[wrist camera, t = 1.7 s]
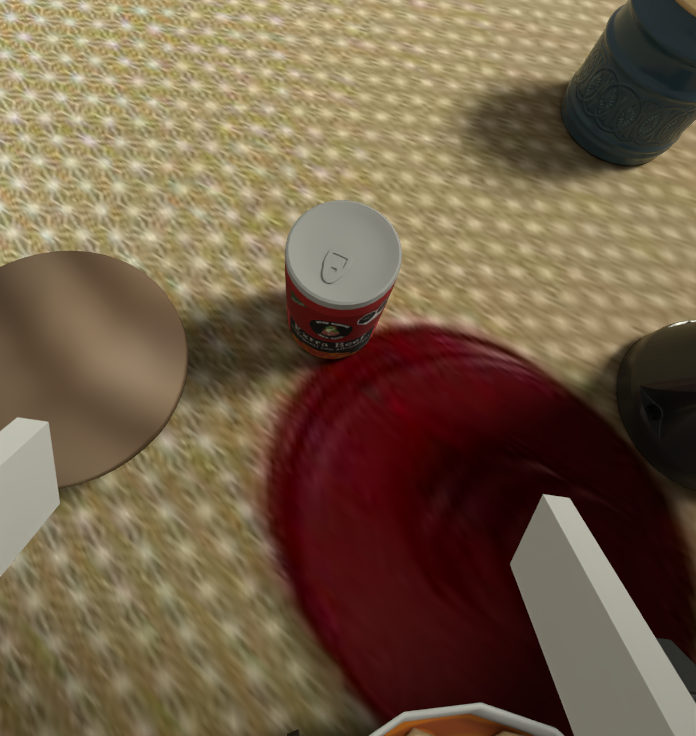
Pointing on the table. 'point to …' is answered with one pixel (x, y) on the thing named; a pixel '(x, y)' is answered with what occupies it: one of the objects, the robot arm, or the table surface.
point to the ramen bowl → (462, 723)
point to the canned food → (339, 276)
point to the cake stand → (89, 358)
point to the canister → (636, 83)
